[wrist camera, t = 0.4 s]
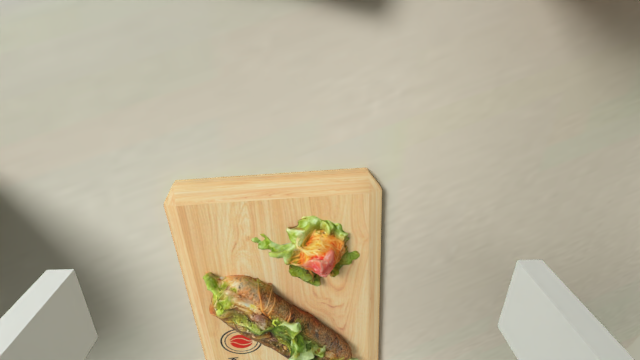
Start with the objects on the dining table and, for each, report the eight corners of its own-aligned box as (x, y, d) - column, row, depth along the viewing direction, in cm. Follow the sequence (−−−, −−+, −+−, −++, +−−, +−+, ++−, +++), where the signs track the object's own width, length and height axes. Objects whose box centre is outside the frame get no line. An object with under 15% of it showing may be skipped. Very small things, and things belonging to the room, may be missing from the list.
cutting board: (163, 178, 40) (135, 214, 33) (379, 164, 40) (395, 197, 33) (219, 389, 55) (207, 444, 48) (375, 378, 55) (385, 430, 49)
